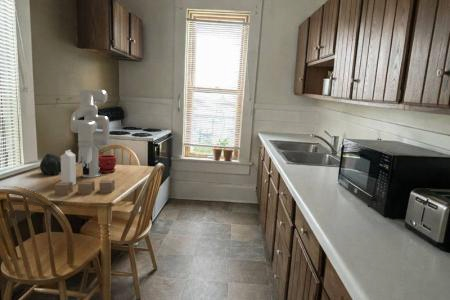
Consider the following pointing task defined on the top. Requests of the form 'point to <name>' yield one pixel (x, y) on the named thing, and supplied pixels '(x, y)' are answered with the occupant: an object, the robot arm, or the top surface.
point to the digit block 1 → (63, 188)
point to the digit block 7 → (107, 186)
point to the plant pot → (107, 163)
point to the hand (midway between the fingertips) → (86, 174)
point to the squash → (50, 164)
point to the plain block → (86, 187)
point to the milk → (68, 167)
